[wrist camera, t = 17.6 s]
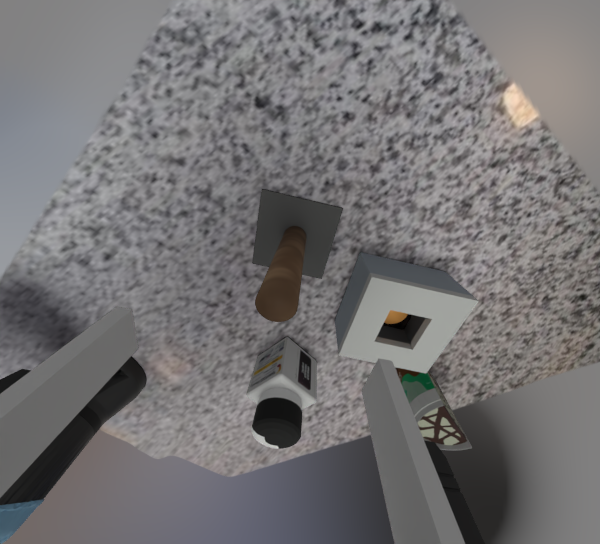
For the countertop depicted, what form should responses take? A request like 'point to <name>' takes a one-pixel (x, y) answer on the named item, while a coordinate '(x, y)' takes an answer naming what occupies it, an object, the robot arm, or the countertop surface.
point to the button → (395, 317)
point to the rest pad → (295, 212)
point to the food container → (432, 411)
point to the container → (282, 393)
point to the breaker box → (402, 298)
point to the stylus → (283, 278)
